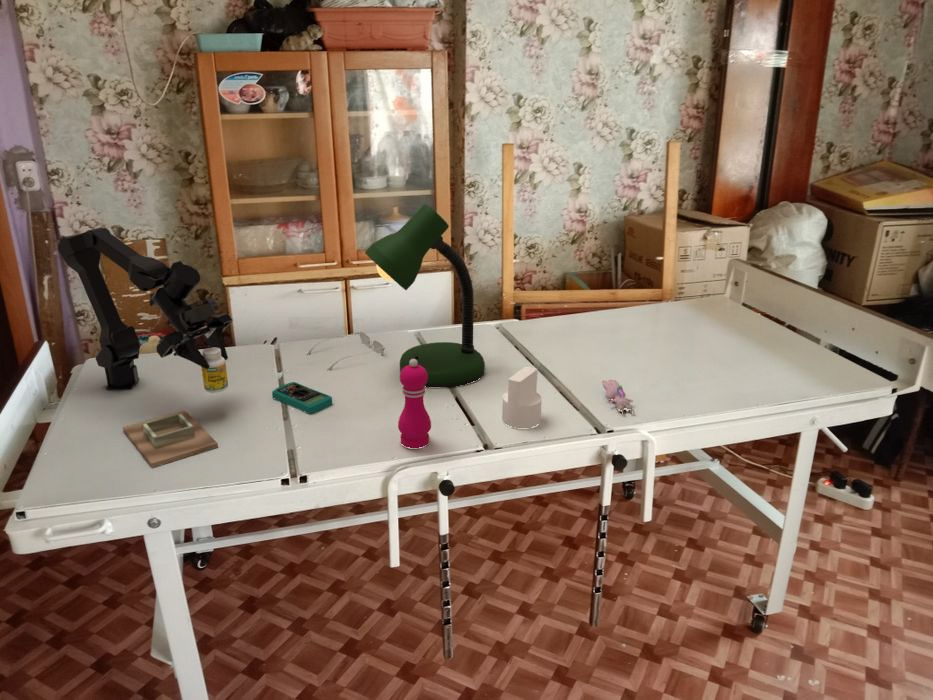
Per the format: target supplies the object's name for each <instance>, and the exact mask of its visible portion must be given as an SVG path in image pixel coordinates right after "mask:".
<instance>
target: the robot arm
mask: <svg viewBox="0 0 933 700" xmlns="http://www.w3.org/2000/svg"><path fill="white" fill-rule="evenodd" d="M57 249H58V252H59V254H60V256H61V257H62V259H63V260H64V263H65V264H66V266H68V267H69V268H70V269H72V270H73V271H74V272H76V273H77V274H78V277H79V278H80V279H79V280H80V281H81V283H82V285H83V288H84V291H85V293H86V295H87V298H88V300H89V303H90V304H91V308H92V309H93V311H94V314H95V316H96V319H97V320H98V321H97V322H98V323H99V326H100V329H101V330H100V335H99V340H98V341H99V344H100V348H101V349H100V351H99V352H98V354H97V355H96V356H95V361H96V363H97V365H98V367H101V368H103V369H104V372H105V377H106V383H107V385H106V386H105V390H131V389H133V388H134V386H135V385H136V384H137V383H138V381H139V380H140V377H139V374H138V367H137V365H136V364H135V362H134V360H137V359H139V358H140V350H141V349H140V348H141V342H140V338H139V337H138V334H137V332H136V329H135V327H134V326H133V325H130V326H129V325H127V324H125V322H123V320H122V318H121V315H120V313H119V311H118V309H117V307H116V304H115V301H114V300H113V299H114V298H113V296H112V294H111V292H110V290H109V287H108V285H107V283H106V280H105V278H104V275H103V272H102V271H101V269H100V261H101V256H102V255H103V256H105V257H106V258H107V259H109V260H110V261H112V262H113V263H114V264H115V265H117V266H118V267H120V268H121V269H123V270H124V271H125V272H126V273H127V274H128V278H129V281H130V282H131V283H132V284H133V285H134V286H135V287H136V288H137V289H138V290H139V291H141V292H144V293H145V292H149V291H152V290H155V289H157V290H156V291H155V292H153V293H151V294H150V295H149V306H150V307H154V306H157V307H158V308H159V309H160V311H161V312H162V313H163V315H164V317H166V319H167V320H166V323H165V324H166V326H168V327H171V326H172V327H173V328H174V330H175V331H174V332H171V333H168V334H166V335H164V336H163V337H162V339H161V340H160V341H159V342H158V343H157V344H156V347H155V348H156V353H157V354H158V355H159V356H160V358H162V359H163V358H165V357H168V356H170V355H172V354H173V356H174V357H177V356H178V357H180V358H183V359H185V360H187V361H190V362H192V363H194V364H196V365H197V366H199V367H203V368H205V369H208V368H209V364H208V363H207V361H206V360H205V358H204V357H203V353H201V352H200V350H199V348H198V347H197V345H196V341H195V339H196V338H198V337H201V336H205V337H206V338H207V339H206V340H205V341H204V342H205V343H206V344H207V345H208V347H209V348H213V347H216V348H220V349H221V356H222V357H223V358H224V359H225V361H227V360H228V359H229V357H228V353H227V350H226V346H225V343H224V339H223V332H224V331H225V330H226V329H227V328H228V327H229V325H230V324H231V323H232V322H233V321H234V319H233V318H232V317H231V315H229V313H228V312H227V313H226V312H221V313H219V314H217V313H216V311H219V308H220V307H219V304H218V302H217V301H216V300H215V298H213V297H210V298H207V299H205V300H203V301H202V305H200V306H198V307H197V305H196V304H194V303H191V304H189V303H188V301H187V300H186V299H187V298H189V296H190V294H192V292H193V291H194V289H195V288H196V287H197V286H198V284H199V283H200V282H201V275H200V273H199V271H198V270H197V269H196V268H194V267H193V266H191V265H187V264H184V263H183V261H182V260H179V261H175V262H173V263H172V264H171V266H167V265H166V264H165V262H163V261H160V260H158V259H156V258H154V257H150V256H144V255H142V254H140V253H139V252H137V251H136V250H134V249H133V248H132V247H130V246H129V245H128V244H126V243H125V242H123V241H122V240H120V239H119V238H118V237H117V236H115V235H113V234H112V233H111V232H110V230H109V229H108V228H107V227H103V226H102V227H100V226H99V227H96V228H92V229H88V230H86V231H85V232H81V233H77V234H72V235H67V236H62V237H61V238H60V240H59V243H58V245H57ZM211 317H212V318H211ZM209 318H211V319H210V320H209ZM206 323H207V324H206ZM173 352H174V353H173Z"/></svg>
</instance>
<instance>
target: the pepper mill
mask: <svg viewBox="0 0 933 700" xmlns="http://www.w3.org/2000/svg"><path fill="white" fill-rule="evenodd" d="M409 364H410V365H408V366H406V367H404V368H403V369H402V371H401V373H400V372H399V381H400V384H401V385H402V387H401V389H402V392H401V393H402V395H403V396H404V406H403V409H402V411H401V414H400V416H399V419H398V422H397V425H398V426H397V428H398V431H399V432H400V433H401V434H400V445H401V444H403V445H404V446H406V447H410V448H419V447H423V446H425V445H427V444H428V443H429V444H430V434H429V433H430V431H431V429H432V420H431V417H430V415H429V413H428V411H427V410H426V407H425V403H424V396H425V395H426V388H427V387H425V384H426V383H427V380H428V374H427V371H426V370H425V369H424V367H422V366H420V365H417V364H418V362H417V360H416V359H411V360H410V362H409ZM429 444H428V445H429ZM428 445H427V446H428Z"/></svg>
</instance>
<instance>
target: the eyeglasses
mask: <svg viewBox="0 0 933 700" xmlns="http://www.w3.org/2000/svg"><path fill="white" fill-rule="evenodd" d="M350 335H352V333H351V334H350V333H348V336H350ZM353 335H359V339H360V342H361V344H364V346H366V347H367V348H369V346H370V344H371V346H372V348H373V349H374V350H371V351H367V352H366V354H368V353H371V352H375V351H376V352H375V353H377V352H378V353H377V354H379V353H380V354H381V355H382V356H383V354H384V351H385V350H386V347H385V346H384V344H383V343H382V342H380V341H379V340H376V339H375V340H374V339H373V338H372V339H371V337H370V336H369V335H368V334H367V333H366V332H362V331H357V332H353ZM345 336H347V334H345V335H343V337H345ZM340 337H342V335H339V336H338V338H340ZM336 338H337V336H336V337H334V339H336ZM330 339H331V340H332V339H333V337H331V338H326V339H323V340H321V341H319V342H317V343H315V344H314V345H313V346H312V347H311V348H310V349H309V350H308V351H307V352H306V353H305V354H309V353H310V354H311V352H312V350H313V349H314V348H315V347H316V346H317V345H319V344H320V343H322V342H325V341H329V340H330ZM371 342H372V343H371ZM310 354H309V355H310ZM363 354H365V352H363V353H362V352H361V353H359V354H358V353H357V356H359V355H363ZM380 354H379V355H380ZM381 355H380V356H381ZM354 356H356V354H354V355H347V356H344V357H342V358H340V359H337V360H336V361H334V362H333V363H332V364H330V366H328V367H327V368H326V369H325V371H326V370H327V371H326V372H329V371H332V369H333V367H334V366H335V365H337V363H338V362H340V361H342V360H344V359H346V358H350V357H354ZM328 370H329V371H328Z"/></svg>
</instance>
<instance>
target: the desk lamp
mask: <svg viewBox="0 0 933 700" xmlns="http://www.w3.org/2000/svg"><path fill="white" fill-rule="evenodd" d="M449 227H450V225H449V224H448V223H447V221H446V220H445V219H444V218H443V217H442V216H441V215H440V214H439V213H438V212H437V211H436V210H435V209H433V208H432V207H431V206H430V205H429V204H427V203H426V204H425V203H424V204H422V205H421V207H420V208H419V209H418V210H417V211H416V212H415V213H414V214H413V216H412V217H410V219H409V220H408V221H407V222H406V223H404V224H403V226H402V227H400V229H398V230H397V231H395V232H393V233H391V234H388V235H385V236H384V237H382V238H379V240H376V241H375V242H373V243H372V244H371V245H370V246H369V247H368V248H366V250H365V251H364V254H365V255H366V256H367V257H368V258H369V259H370V260H371V261H372V262H373V263H375V265H376V271H377V273H378V275H379V276H380V277H381V278H382V279H385V280H387V281H394V282H395V283H397V284H398V285H399V286H400V287H401V288H402V289H404V290H405V291H407V290H408V289H410V287H411V286H412V285H413V284H414V283H415V281H416V279H417V277H418V275H419V272H420V271H421V268H422V264H423V260H424V257H425V256H426V254H427V253H428V252H429V251H430V249H432V250H436V251H437V252H438V253H439V254H440V255H441V256H443V257H444V258H445V259H447V261H448V262H449V264H451V265H452V267H453V268H454V271H455V273H456V276H457V279H458V280H459V285H460V289H461V299H462V301H461V305H462V306H461V307H462V310H461V311H462V312H461V313H462V315H461V316H462V317H461V327H462V328H461V343H457V342H452V341H451V342H447V341H446V342H445V341H439V342H437V341H436V342H430V343H424V344H423V343H422V344H419V345H416V346H413V347H410V348H408V349H407V350H405V352H403V353H402V354H401V357H400V359H399V374H400V373H401V371H402V369H403V368H404V367H406V366H408V365H410V364H409V362H410V360H411V359H416V360H417V362H418V364H417V365H420V366H422V367H424V369H425V370H426V371H427V374H428V380H427V383H426V384H425V386H426V388H429V387H447V388H446V389H449V388H450V389H451V388H457V387H456V386H458V387H461V386H460V385H464V386H466V385H465V384H467V383H471V382H473V381H476V380H478V379H479V378H481V377H482V376H484V375H485V371H486V370H485V369H486V368H485V367H486V365H485V360H484V357H483V355H482V354H481V353H480V352H479V351H478V350H477V349H475V345H474V312H475V311H474V310H475V309H474V307H475V304H474V303H475V299H474V297H475V296H474V288H473V287H474V286H473V282H472V279H471V275H470V271H469V270H468V268H467V267H468V266H467V265H466V263H465V260H464V258H462V257H461V254H459V253H458V252H457V250H455V249H454V248H453V246H450V245H449V244H448V243H447V242H445V241H444V237H443V234H444V233H445V232H446V231H447V230H448V229H449ZM482 378H483V377H482ZM482 378H481V379H482ZM479 380H480V379H479ZM479 380H478V381H479ZM476 382H477V381H476ZM473 383H474V382H473ZM471 384H472V383H471ZM467 385H468V384H467Z"/></svg>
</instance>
